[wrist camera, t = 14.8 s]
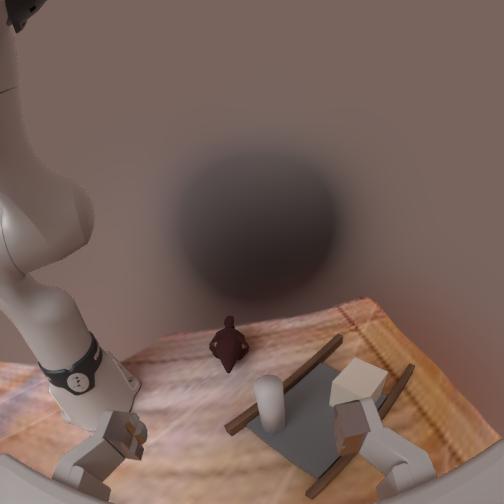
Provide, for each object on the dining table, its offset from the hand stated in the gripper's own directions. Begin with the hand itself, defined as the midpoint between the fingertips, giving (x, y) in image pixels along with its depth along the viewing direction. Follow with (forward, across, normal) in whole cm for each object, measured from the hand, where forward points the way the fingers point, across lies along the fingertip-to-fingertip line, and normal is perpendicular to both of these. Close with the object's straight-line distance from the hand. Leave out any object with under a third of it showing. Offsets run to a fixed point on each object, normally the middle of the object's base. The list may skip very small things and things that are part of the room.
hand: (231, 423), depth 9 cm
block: (+18, -14, +27) cm, 35 cm away
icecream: (+33, +6, +28) cm, 44 cm away
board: (+17, -8, +28) cm, 34 cm away
